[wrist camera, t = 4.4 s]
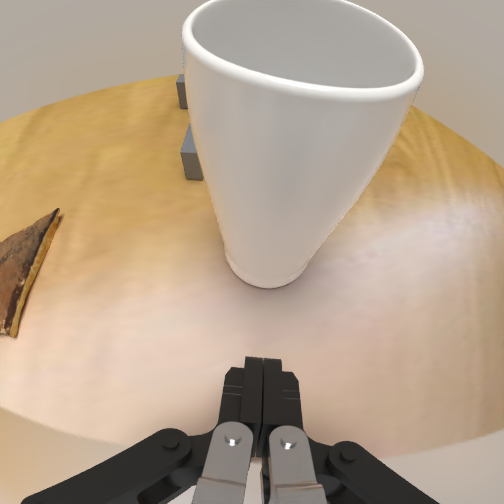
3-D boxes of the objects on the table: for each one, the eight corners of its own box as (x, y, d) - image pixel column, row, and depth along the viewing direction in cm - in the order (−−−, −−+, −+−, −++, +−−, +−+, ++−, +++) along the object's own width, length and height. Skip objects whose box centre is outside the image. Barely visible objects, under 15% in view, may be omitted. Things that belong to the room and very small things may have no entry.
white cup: (204, 217, 21) (168, -4, 7) (299, 196, 22) (353, -9, 8) (228, 315, 19) (198, 117, 5) (333, 286, 20) (475, 102, 6)
